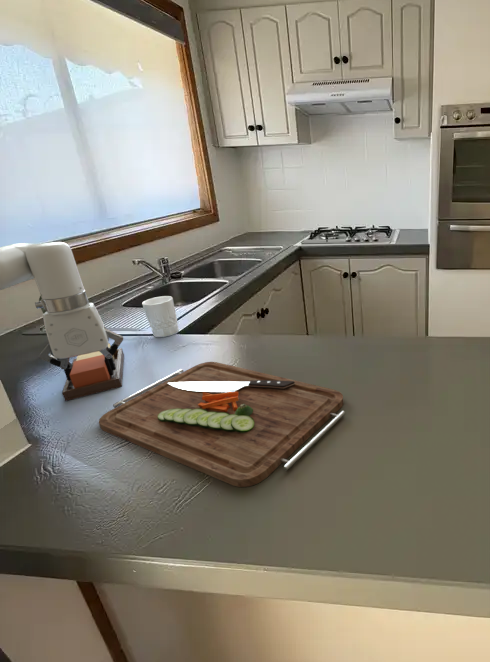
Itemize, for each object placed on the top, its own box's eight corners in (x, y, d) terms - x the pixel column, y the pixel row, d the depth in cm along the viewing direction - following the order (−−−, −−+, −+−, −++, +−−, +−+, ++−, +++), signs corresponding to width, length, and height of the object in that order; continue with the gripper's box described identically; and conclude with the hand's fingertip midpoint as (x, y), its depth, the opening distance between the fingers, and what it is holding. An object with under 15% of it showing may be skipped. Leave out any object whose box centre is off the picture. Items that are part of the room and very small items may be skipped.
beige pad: (81, 377, 98) (75, 361, 96) (84, 364, 105) (79, 349, 103) (113, 369, 101) (107, 354, 99) (114, 357, 107) (109, 342, 106)
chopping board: (85, 423, 80) (80, 409, 79) (200, 363, 102) (197, 351, 100) (262, 497, 59) (258, 480, 58) (360, 401, 80) (359, 387, 79)
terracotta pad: (75, 391, 91) (69, 375, 89) (79, 376, 97) (73, 361, 96) (110, 382, 93) (104, 366, 92) (111, 368, 100) (106, 353, 99)
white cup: (161, 340, 117) (152, 306, 114) (145, 335, 122) (136, 303, 118) (186, 330, 124) (178, 297, 120) (170, 326, 128) (162, 294, 124)
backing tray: (65, 401, 89) (61, 392, 88) (76, 366, 105) (73, 358, 104) (121, 386, 93) (119, 378, 92) (124, 355, 110) (121, 347, 109)
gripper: (11, 316, 82) (44, 396, 88) (113, 298, 89) (136, 373, 96) (20, 306, 88) (50, 381, 95) (114, 290, 95) (136, 361, 102)
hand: (93, 376), depth 95 cm, fingers closed on terracotta pad, 6 cm apart
